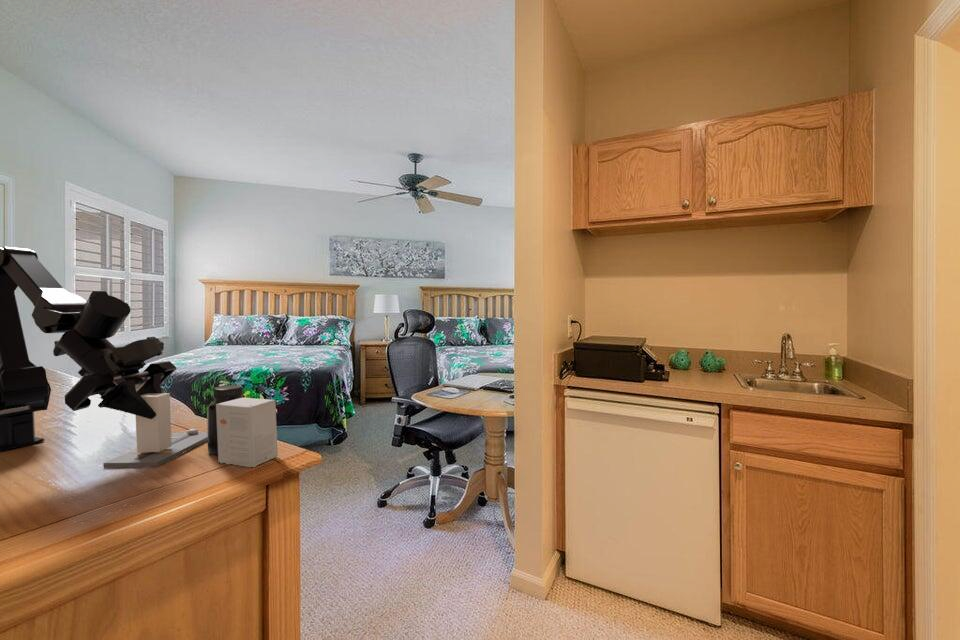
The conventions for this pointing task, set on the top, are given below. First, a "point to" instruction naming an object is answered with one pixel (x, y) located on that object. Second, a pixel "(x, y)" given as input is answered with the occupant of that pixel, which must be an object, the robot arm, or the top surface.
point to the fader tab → (155, 424)
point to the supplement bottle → (220, 396)
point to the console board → (155, 459)
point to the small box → (246, 431)
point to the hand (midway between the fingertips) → (161, 414)
